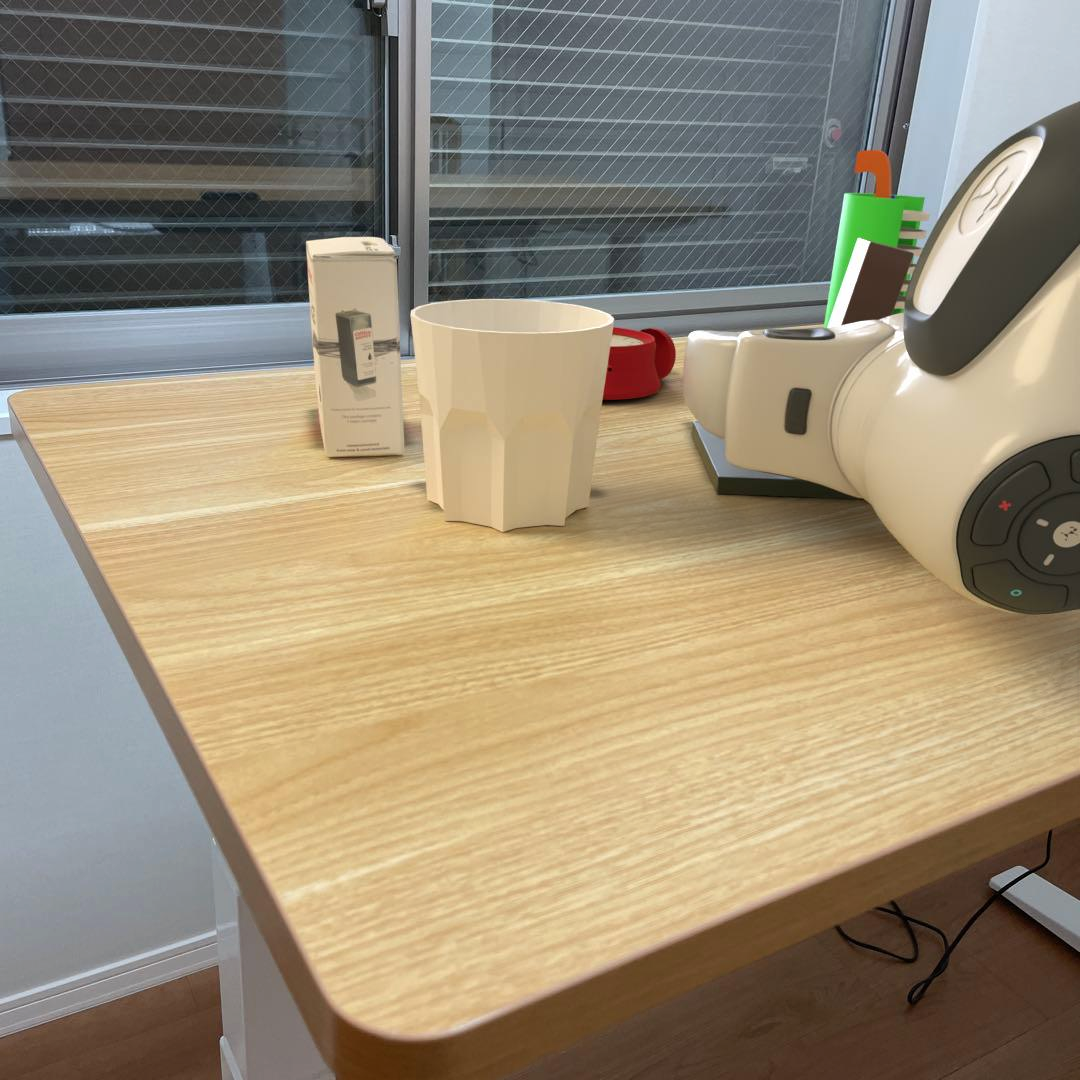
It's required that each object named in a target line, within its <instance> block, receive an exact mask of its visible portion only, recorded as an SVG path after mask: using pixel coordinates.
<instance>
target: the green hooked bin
mask: <svg viewBox="0 0 1080 1080" xmlns="http://www.w3.org/2000/svg"><path fill="white" fill-rule="evenodd" d="M853 173H854V174H858V173H872V174H873V175H874V176H875V180H876V181H875V182H876V183H875V193H871V192H870V193H869V192H866V193H865V192H845V193H844V194H843V200H842V207H841V213H840V220H839V227H838V233H837V240H836V245H835V252H834V258H833V265H832V270H831V271H832V272H831V278H830V284H829V291H828V296H827V297H828V298H827V303H826V310H825V317H824V323H823V328H827V327H828V324H829V321H830V318H831V315H832V312H833V309H834V307H835V304H836V301H837V298H838V295H839V292H840V289H841V286H842V283H843V280H844V277H845V274H846V272H847V269H848V266H849V263H850V260H851V257H852V254H853V251H854V248H855V245H856V242H857V239H858V238H862V239H866V240H870V241H874V242H878V243H882V244H886V245H889V246H893V247H897V248H901V249H904V250H907V251H910V252H913V253H914V256H913V258H912V261H911V264H910V267H909V269H908V272H907V275H906V278H905V280H904V283H903V286H902V289H901V291H900V294H899V297H898V299H897V302H896V305H895V308H894V310H893V313H892V315H895V314H899V313H904V306H905V296H906V292H907V288H908V285H909V282H910V279H911V276H912V274H913V271H914V269H915V266H916V264H917V263H914V259H915V258H917V257H920V254H921V252H922V250H923V248H924V247H921V246H917V243H918V240H923V239H926V237H927V232H928V230H925V229H921V228H920V226H921V222H928V221H929V220H930V215H931V213H930V212H926V211H923V210H924V204H925V199H926V197H924V196H915V195H914V196H913V195H901V194H900V195H898V194H892V166H891V162H890V158H889V156H888V154H887V153H886V152H884V151H883V150H880V149H866V150H857V153H856V160H855V166H854V171H853Z"/></svg>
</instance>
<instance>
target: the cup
mask: <svg viewBox="0 0 1080 1080" xmlns="http://www.w3.org/2000/svg"><path fill="white" fill-rule="evenodd" d="M614 323H615V318H614V316H612V314H610V313H607V312H605V311H603V310H600V309H598V308H597V309H596V308H593V307H588V306H585V305H578V304H571V303H565V302H558V301H557V302H556V301H545V300H535V299H514V298H478V299H477V298H476V299H469V298H468V299H458V300H457V299H456V300H445V301H438V302H431V303H427V304H422V305H419V306H416V307H414V308H413V309H411V310H410V324H411V332H412V342H413V351H414V352H413V353H414V360H415V361H414V362H415V369H416V378H417V379H416V380H417V391H418V399H419V400H418V401H419V410H420V426H421V439H422V451H423V452H422V453H423V462H424V472H425V473H424V474H425V475H424V476H425V489H426V499H427V501H429V502H432V503H434V504H436V505H438V506H439V507H440V508H441V509H442V510H443V520H444V522H465V523H470V524H474V525H480V526H485V527H490V528H493V529H494V530H497V531H499V532H502V533H504V532H507V531H510V530H511V531H512V530H514V529H518V528H529V527H539V526H557V527H559V526H560V527H565V524H566V523H565V522H566V519H567V518H568V517H569V516H570V515H572V514H573V513H574V512H575V511H578V510H582V509H584V508H585V509H586V508H589V505H590V499H591V498H590V496H591V489H592V482H593V475H594V467H595V459H596V451H597V443H598V435H599V428H600V419H601V413H602V406H603V400H604V399H603V392H604V386H605V379H606V372H607V365H608V358H609V352H610V345H611V338H612V331H613V327H614Z"/></svg>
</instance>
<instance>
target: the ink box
mask: <svg viewBox="0 0 1080 1080" xmlns="http://www.w3.org/2000/svg"><path fill="white" fill-rule="evenodd" d="M305 251H306V265H307V281H308V283H307V284H308V295H309V297H308V298H309V311H310V326H311V342H312V352H313V353H312V354H313V367H314V378H315V379H314V380H315V390H316V402H317V413H318V422H319V427H320V432H321V438H322V443H323V449H324V454H325V457H327V458H350V457H383V456H384V457H385V456H404V455H405V430H404V428H405V427H404V407H403V404H404V403H403V387H402V386H403V385H402V384H403V383H402V382H403V380H402V361H401V360H402V359H401V340H400V339H401V338H400V337H401V336H400V311H399V310H400V307H399V286H398V261H397V257H396V251H395V250H394V248H393V247H392V246H391V245H390V244H389V243H388V242H387V241H386V240H385V239H384V238H382V237H377V236H376V237H375V236H341V237H331V238H322V239H313V240H306V241H305Z"/></svg>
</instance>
